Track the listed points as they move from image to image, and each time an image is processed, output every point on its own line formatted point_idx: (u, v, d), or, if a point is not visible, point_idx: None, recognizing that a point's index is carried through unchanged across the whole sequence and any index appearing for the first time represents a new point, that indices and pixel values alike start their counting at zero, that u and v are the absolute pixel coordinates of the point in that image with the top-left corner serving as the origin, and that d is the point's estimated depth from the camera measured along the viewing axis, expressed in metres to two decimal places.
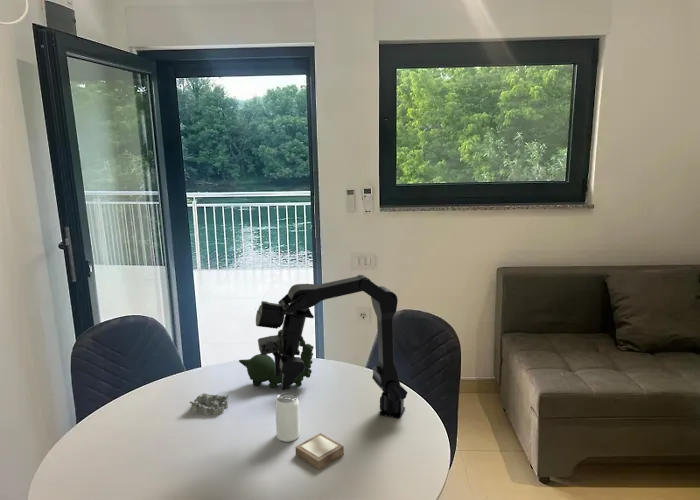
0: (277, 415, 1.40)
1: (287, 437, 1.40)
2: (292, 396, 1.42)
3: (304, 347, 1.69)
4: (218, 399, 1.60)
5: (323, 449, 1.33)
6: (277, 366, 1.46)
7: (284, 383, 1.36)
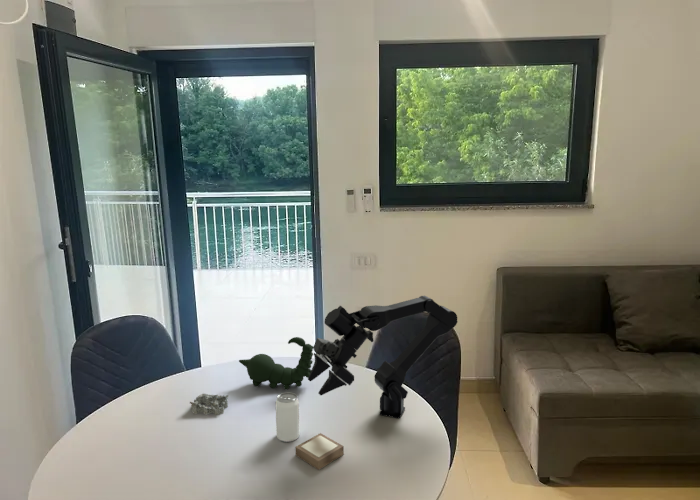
0: (277, 415, 1.40)
1: (287, 437, 1.40)
2: (292, 396, 1.42)
3: (304, 347, 1.69)
4: (218, 399, 1.60)
5: (323, 449, 1.33)
6: (314, 371, 1.48)
7: (325, 388, 1.39)
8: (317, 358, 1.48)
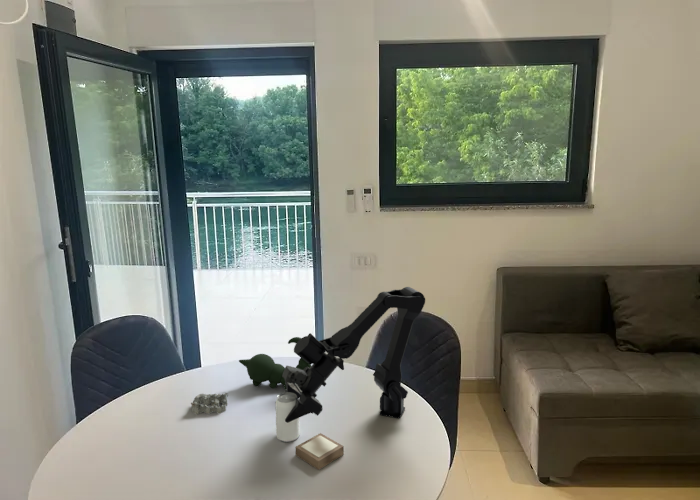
0: (277, 415, 1.40)
1: (287, 437, 1.40)
2: (292, 396, 1.42)
3: None
4: (217, 398, 1.61)
5: (323, 449, 1.33)
6: None
7: (291, 415, 1.38)
8: (288, 387, 1.45)
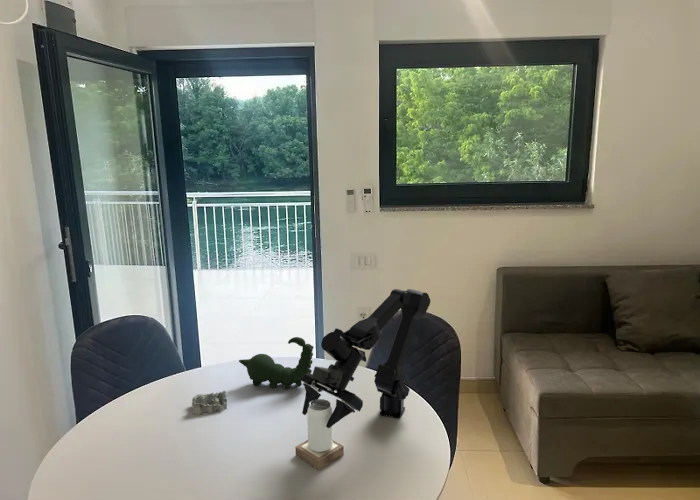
0: (313, 425, 1.30)
1: (325, 446, 1.31)
2: (323, 402, 1.33)
3: (304, 347, 1.69)
4: (215, 396, 1.61)
5: None
6: (308, 403, 1.35)
7: (333, 419, 1.28)
8: (310, 388, 1.36)
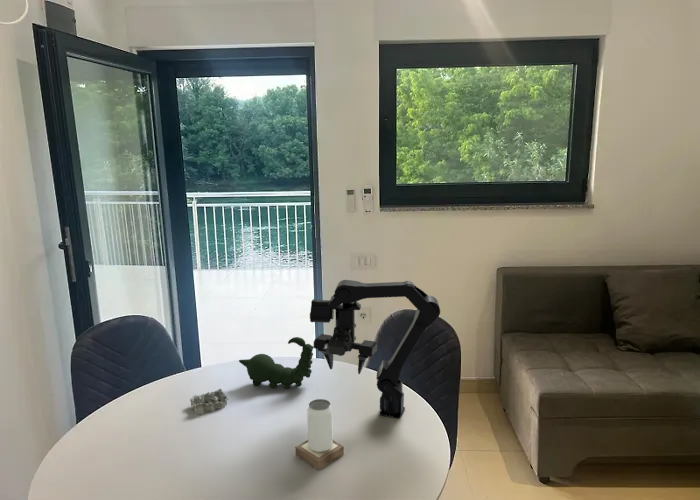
0: (313, 425, 1.30)
1: (325, 446, 1.31)
2: (323, 402, 1.33)
3: (304, 347, 1.69)
4: (212, 395, 1.62)
5: None
6: (330, 360, 1.55)
7: (361, 367, 1.52)
8: (326, 351, 1.53)
